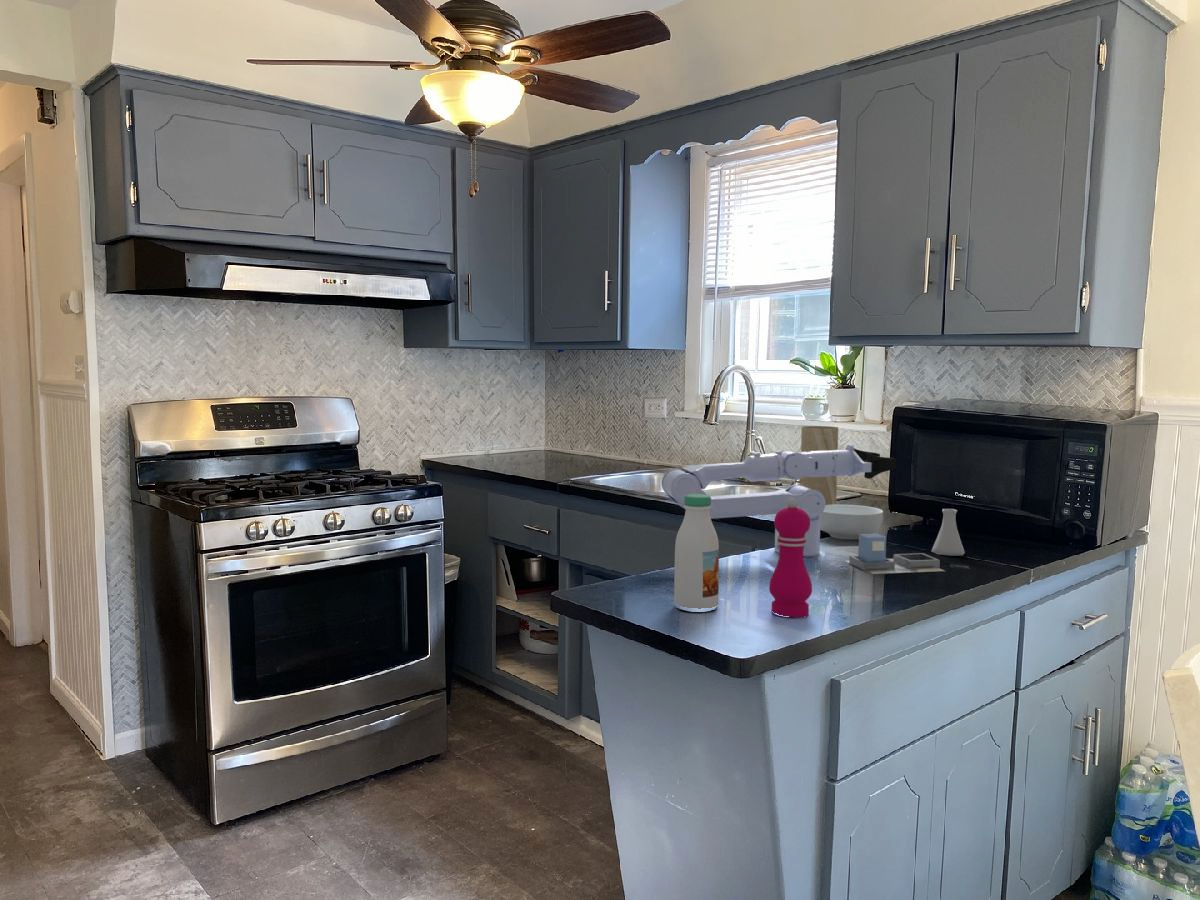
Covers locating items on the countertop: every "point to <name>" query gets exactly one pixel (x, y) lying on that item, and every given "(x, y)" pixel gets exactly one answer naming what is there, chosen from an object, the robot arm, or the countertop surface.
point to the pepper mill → (791, 563)
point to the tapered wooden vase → (820, 441)
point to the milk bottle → (696, 556)
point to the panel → (899, 564)
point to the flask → (948, 536)
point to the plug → (872, 548)
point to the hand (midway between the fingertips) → (887, 460)
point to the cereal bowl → (850, 520)
